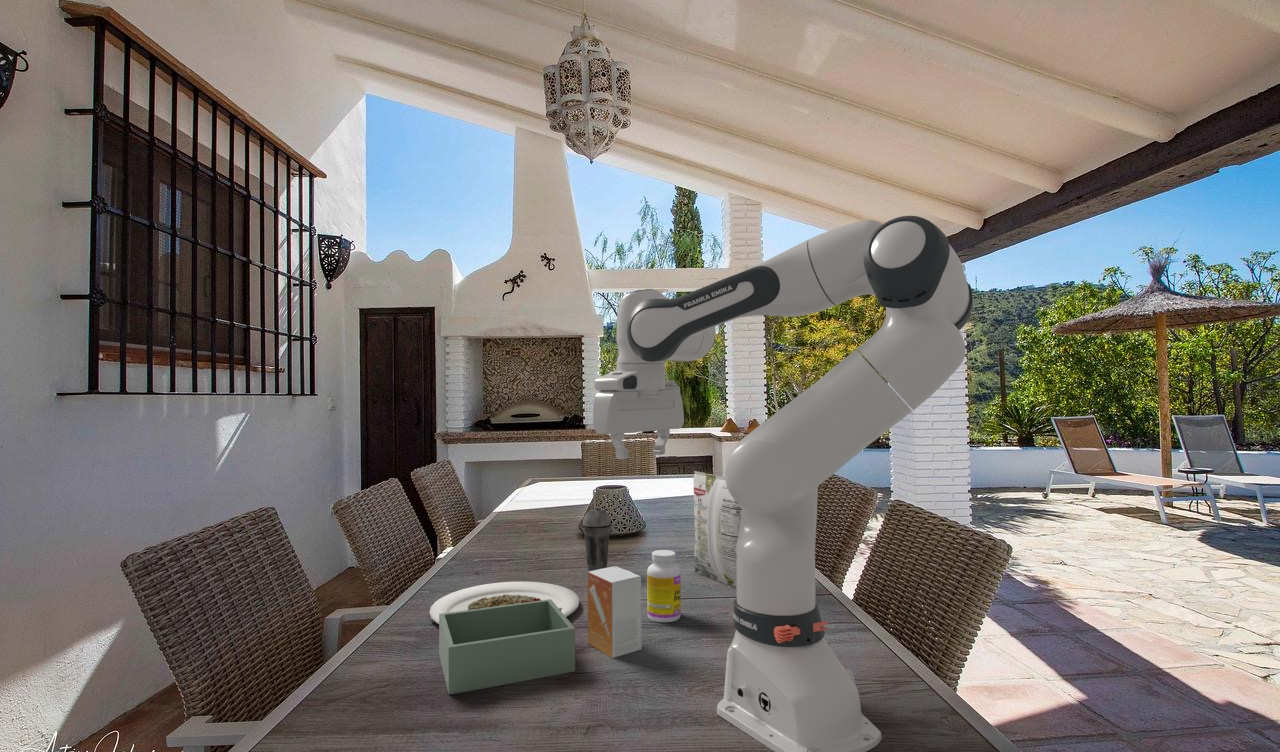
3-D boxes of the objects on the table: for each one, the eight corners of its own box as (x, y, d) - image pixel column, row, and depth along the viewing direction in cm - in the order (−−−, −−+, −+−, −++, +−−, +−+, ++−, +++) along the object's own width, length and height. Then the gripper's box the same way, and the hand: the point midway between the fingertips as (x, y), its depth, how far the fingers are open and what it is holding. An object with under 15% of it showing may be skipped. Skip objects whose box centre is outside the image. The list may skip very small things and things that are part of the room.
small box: (587, 644, 115) (586, 571, 116) (617, 636, 119) (616, 565, 119) (612, 660, 109) (611, 582, 109) (642, 650, 113) (642, 575, 113)
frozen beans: (762, 592, 144) (760, 479, 145) (742, 596, 141) (741, 481, 142) (704, 570, 162) (703, 469, 162) (685, 573, 159) (684, 471, 159)
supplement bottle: (678, 625, 125) (677, 557, 125) (644, 622, 126) (644, 556, 126) (682, 613, 131) (682, 549, 131) (650, 611, 132) (650, 547, 133)
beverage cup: (617, 570, 162) (617, 489, 163) (600, 577, 156) (600, 494, 156) (594, 565, 166) (593, 487, 166) (576, 572, 160) (576, 491, 160)
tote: (575, 672, 104) (575, 628, 104) (448, 694, 97) (448, 647, 97) (551, 637, 119) (550, 599, 119) (439, 654, 111) (439, 613, 111)
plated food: (459, 589, 150) (459, 574, 150) (588, 590, 148) (588, 575, 148) (404, 639, 120) (404, 620, 120) (566, 641, 118) (565, 623, 118)
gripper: (667, 380, 127) (667, 450, 127) (587, 380, 113) (587, 459, 113) (691, 380, 123) (691, 453, 123) (611, 380, 108) (611, 463, 108)
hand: (641, 456), depth 118 cm, fingers open, 8 cm apart
